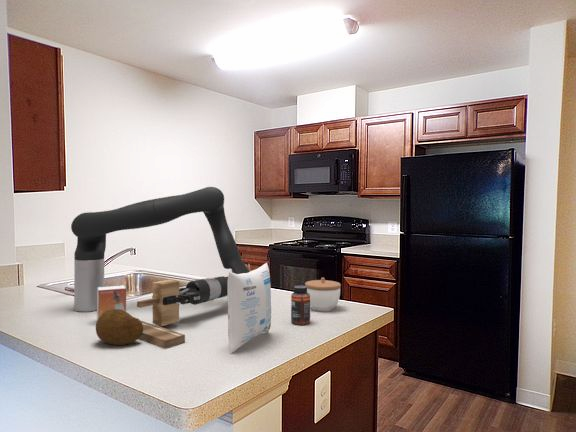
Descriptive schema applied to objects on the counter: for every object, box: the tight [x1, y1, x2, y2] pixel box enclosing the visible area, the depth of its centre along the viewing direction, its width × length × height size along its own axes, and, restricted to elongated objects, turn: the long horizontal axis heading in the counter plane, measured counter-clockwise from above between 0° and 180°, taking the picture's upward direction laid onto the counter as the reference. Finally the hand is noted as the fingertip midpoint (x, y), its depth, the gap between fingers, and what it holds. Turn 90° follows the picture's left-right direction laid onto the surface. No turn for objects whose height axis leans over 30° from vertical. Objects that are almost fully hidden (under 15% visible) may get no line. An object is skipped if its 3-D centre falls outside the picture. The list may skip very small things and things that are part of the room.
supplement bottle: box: [290, 285, 311, 326], centre depth 123 cm, size 6×6×11 cm
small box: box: [96, 284, 127, 322], centre depth 123 cm, size 8×6×10 cm
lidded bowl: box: [304, 277, 342, 312], centre depth 141 cm, size 13×13×11 cm
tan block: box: [136, 279, 180, 327], centre depth 115 cm, size 4×12×12 cm, turn 143°
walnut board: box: [137, 320, 186, 350], centre depth 110 cm, size 26×6×2 cm, turn 53°
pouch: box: [227, 262, 272, 354], centre depth 105 cm, size 8×19×20 cm, turn 151°
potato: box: [95, 309, 143, 346], centre depth 103 cm, size 8×12×9 cm
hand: (158, 300), depth 116 cm, fingers closed on tan block, 4 cm apart
